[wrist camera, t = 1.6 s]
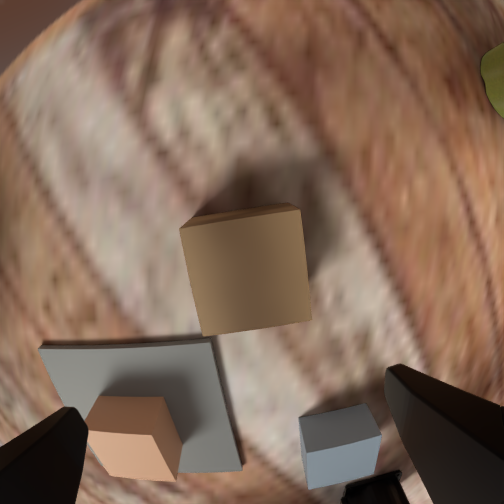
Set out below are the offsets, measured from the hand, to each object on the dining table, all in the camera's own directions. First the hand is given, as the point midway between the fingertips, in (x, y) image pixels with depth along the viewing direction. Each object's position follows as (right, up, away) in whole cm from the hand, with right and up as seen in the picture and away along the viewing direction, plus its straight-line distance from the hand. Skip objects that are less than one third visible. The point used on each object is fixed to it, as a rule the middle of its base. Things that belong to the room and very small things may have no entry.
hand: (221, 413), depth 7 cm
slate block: (+7, -11, +15) cm, 20 cm away
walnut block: (0, +4, +11) cm, 12 cm away
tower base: (-8, -9, +14) cm, 18 cm away
